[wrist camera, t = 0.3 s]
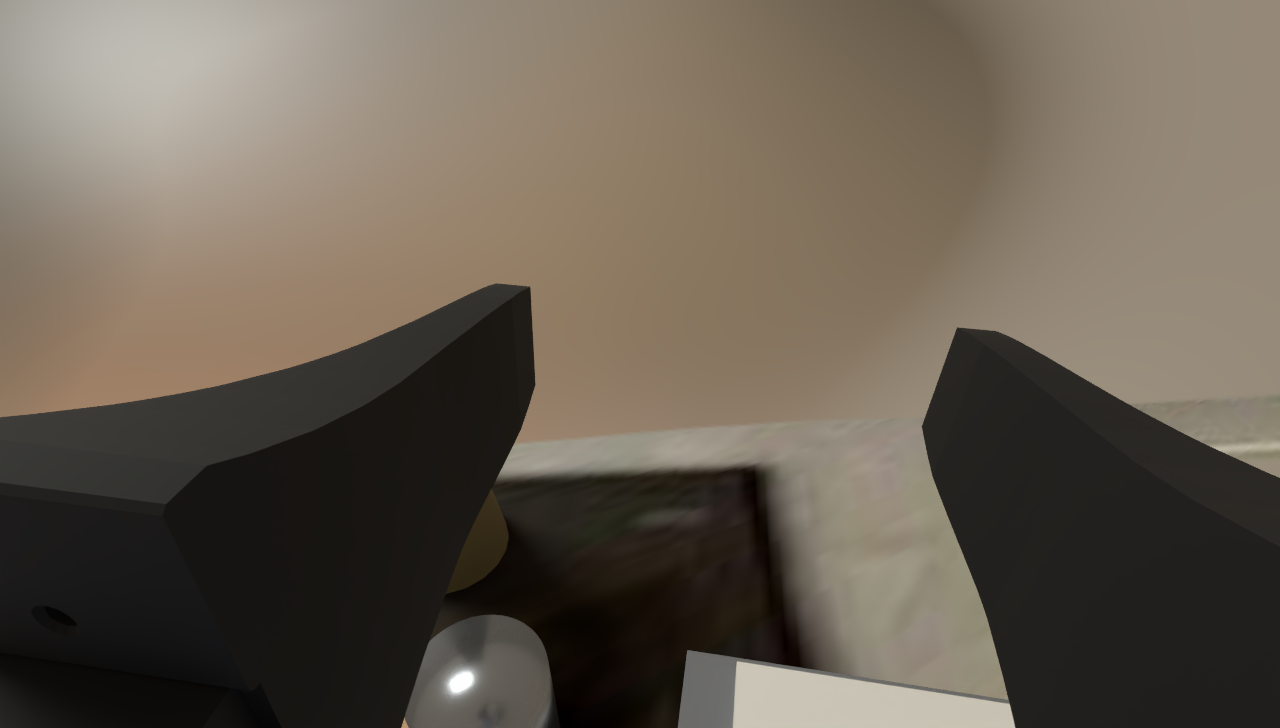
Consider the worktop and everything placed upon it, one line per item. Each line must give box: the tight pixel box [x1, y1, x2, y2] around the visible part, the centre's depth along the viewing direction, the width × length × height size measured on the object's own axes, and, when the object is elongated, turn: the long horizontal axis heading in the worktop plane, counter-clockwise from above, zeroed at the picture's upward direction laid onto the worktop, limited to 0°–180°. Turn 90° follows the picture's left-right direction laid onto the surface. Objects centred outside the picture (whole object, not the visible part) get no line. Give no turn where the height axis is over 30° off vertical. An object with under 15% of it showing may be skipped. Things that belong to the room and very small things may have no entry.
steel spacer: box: [405, 615, 561, 728], centre depth 23 cm, size 5×5×5 cm
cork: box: [446, 489, 509, 594], centre depth 30 cm, size 6×6×11 cm
